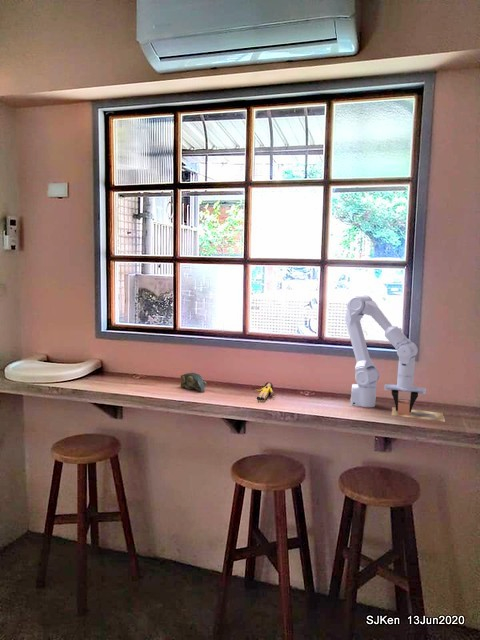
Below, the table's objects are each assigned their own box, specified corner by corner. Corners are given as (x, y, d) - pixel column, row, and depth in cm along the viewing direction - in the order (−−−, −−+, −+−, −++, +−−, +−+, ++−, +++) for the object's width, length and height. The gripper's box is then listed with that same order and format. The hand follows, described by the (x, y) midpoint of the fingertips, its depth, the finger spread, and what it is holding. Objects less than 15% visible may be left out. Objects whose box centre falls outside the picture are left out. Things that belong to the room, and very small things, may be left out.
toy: (251, 394, 189) (261, 379, 202) (251, 405, 190) (261, 389, 203) (269, 397, 186) (278, 381, 200) (269, 407, 187) (278, 391, 201)
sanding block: (397, 413, 173) (398, 403, 172) (397, 409, 178) (398, 399, 178) (409, 415, 172) (409, 404, 171) (408, 410, 177) (409, 400, 177)
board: (391, 418, 171) (391, 414, 171) (392, 410, 182) (392, 407, 181) (445, 424, 165) (445, 421, 165) (442, 416, 176) (442, 412, 176)
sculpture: (209, 391, 202) (209, 375, 201) (197, 393, 198) (197, 377, 197) (191, 385, 212) (191, 370, 211) (179, 387, 207) (179, 372, 207)
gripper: (385, 375, 172) (382, 411, 173) (427, 379, 167) (424, 416, 169) (385, 371, 179) (383, 406, 180) (426, 375, 174) (423, 411, 175)
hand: (403, 410), depth 175 cm, fingers closed on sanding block, 4 cm apart
